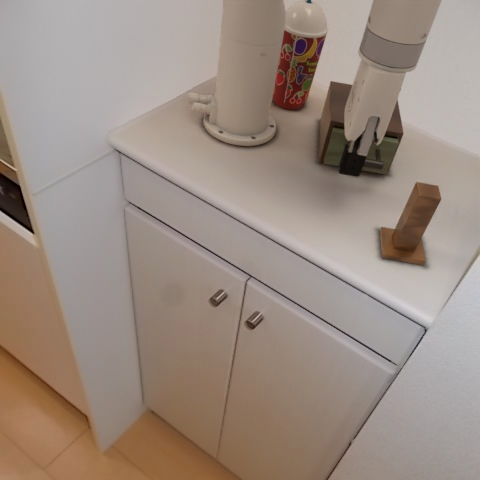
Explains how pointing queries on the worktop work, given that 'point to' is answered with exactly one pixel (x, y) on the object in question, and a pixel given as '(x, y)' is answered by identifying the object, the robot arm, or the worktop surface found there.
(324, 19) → the smoothie
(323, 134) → the cabinet
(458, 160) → the worktop surface
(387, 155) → the drawer
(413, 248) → the stand
